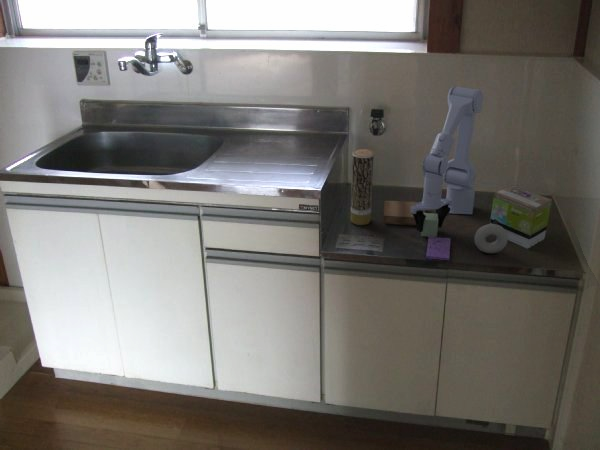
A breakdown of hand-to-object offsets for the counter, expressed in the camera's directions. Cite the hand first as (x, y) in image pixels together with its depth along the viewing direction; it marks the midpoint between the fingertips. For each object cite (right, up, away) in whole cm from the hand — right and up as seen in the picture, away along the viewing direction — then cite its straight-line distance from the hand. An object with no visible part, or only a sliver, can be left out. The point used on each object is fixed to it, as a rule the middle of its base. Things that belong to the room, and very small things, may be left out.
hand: (429, 228), depth 210 cm
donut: (+16, -8, -11) cm, 21 cm away
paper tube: (-22, +2, +9) cm, 24 cm away
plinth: (-6, +4, +11) cm, 14 cm away
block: (0, -1, +1) cm, 2 cm away
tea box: (+28, -3, -2) cm, 28 cm away
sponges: (+1, -7, -9) cm, 12 cm away
